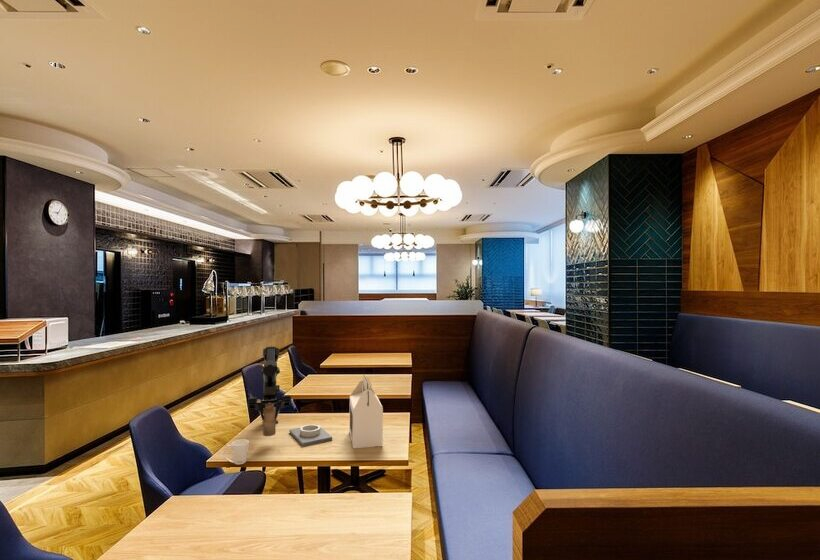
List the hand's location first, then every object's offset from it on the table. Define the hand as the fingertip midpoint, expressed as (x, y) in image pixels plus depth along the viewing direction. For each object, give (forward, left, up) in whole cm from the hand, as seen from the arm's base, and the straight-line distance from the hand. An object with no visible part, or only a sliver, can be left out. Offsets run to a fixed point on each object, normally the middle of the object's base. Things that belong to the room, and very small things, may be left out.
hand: (269, 419), depth 186 cm
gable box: (+15, +40, -12) cm, 45 cm away
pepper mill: (-1, 0, -7) cm, 7 cm away
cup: (+11, -16, -12) cm, 22 cm away
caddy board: (-1, +19, -12) cm, 23 cm away
